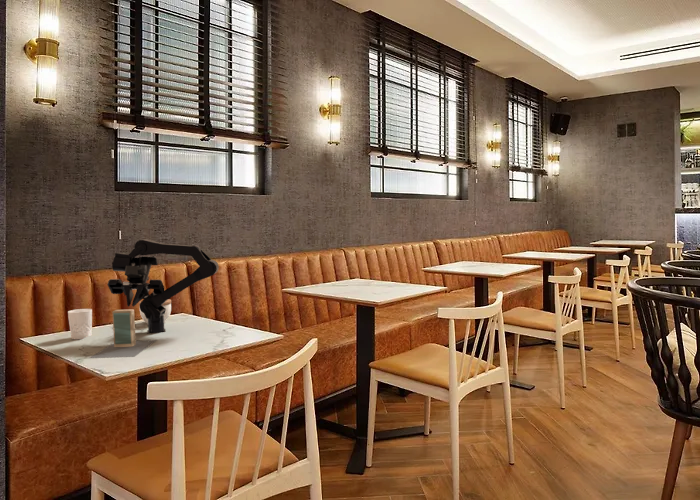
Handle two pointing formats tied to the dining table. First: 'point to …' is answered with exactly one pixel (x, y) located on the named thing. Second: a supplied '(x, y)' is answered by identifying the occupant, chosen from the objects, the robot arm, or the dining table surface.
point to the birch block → (124, 328)
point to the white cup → (80, 323)
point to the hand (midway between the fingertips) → (130, 305)
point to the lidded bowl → (166, 315)
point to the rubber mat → (123, 350)
